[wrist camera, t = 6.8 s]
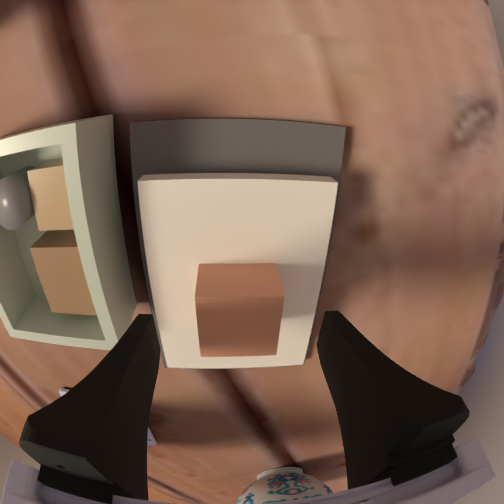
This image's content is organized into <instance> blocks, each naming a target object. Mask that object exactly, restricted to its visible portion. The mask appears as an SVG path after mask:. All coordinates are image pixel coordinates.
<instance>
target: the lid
mask: <svg viewBox="0 0 504 504" xmlns="http://www.w3.org/2000/svg"><path fill="white" fill-rule="evenodd" d="M137 182H138V194H139V204H140V214H141V223H142V231H143V239H144V247H145V254H146V260H147V267H148V273H149V279H150V285H151V291H152V297H153V302H154V307H155V313H156V318H157V323H158V327H159V332H160V337H161V341H162V346H163V350H164V355H165V359H166V363H167V367H168V368H255V367H275V366H290V365H302V364H303V363H304V359H305V355H306V351H307V346H308V342H309V338H310V334H311V329H312V325H313V320H314V316H315V311H316V307H317V302H318V297H319V292H320V287H321V282H322V277H323V272H324V267H325V261H326V256H327V250H328V244H329V239H330V233H331V227H332V220H333V214H334V207H335V201H336V194H337V186H338V182H336V181H335V180H334V179H333V178H331V177H327V176H311V175H292V174H264V173H180V174H152V175H143V176H142V177H141V178H140V179H139V180H138V181H137Z"/></svg>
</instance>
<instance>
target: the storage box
mask: <svg viewBox="0 0 504 504" xmlns="http://www.w3.org/2000/svg"><path fill="white" fill-rule="evenodd" d="M136 305H137V301H136V297H135V292H134V287H133V283H132V278H131V272H130V267H129V262H128V256H127V250H126V244H125V238H124V232H123V225H122V218H121V210H120V202H119V194H118V185H117V174H116V162H115V149H114V130H113V114H112V115H105V116H98V117H91V118H85V119H79V120H74V121H68V122H63V123H58V124H53V125H49V126H44V127H40V128H35V129H31V130H27V131H23V132H20V133H16V134H12V135H9V136H5V137H2V138H0V317H1V319H2V321H3V323H4V325H5V327H6V329H7V331H8V333H9V335H10V336H11V337H16V338H21V339H27V340H33V341H39V342H45V343H52V344H59V345H67V346H75V347H83V348H93V349H103V350H111V349H112V348H113V347H114V346H115V344H116V343H117V342H118V341H119V339H120V338H121V337H122V336H123V334H124V333H125V332H126V330H127V329H128V328H129V326H130V323H131V320H132V317H133V314H134V311H135V308H136Z"/></svg>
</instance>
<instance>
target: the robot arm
mask: <svg viewBox="0 0 504 504" xmlns="http://www.w3.org/2000/svg"><path fill="white" fill-rule="evenodd" d="M317 349H318V354H319V359H320V363H321V367H322V370H323V373H324V376H325V378H326V381H327V384H328V387H329V390H330V393H331V395H332V398H333V401H334V404H335V407H336V411H337V415H338V419H339V424H340V429H341V434H342V440H343V446H344V453H345V460H346V469H347V481H348V490H345V491H341V492H336V493H332V494H327V495H322V496H316V497H311V498H305V499H298V500H291V501H283V502H274V503H263V504H455V503H457V502H458V501H460V500H462V499H463V498H465V497H467V496H468V495H470V494H472V493H473V492H475V491H476V490H478V489H479V488H481V487H482V486H484V485H485V484H487V483H488V482H490V481H491V480H493V479H494V478H495V477H496V475H495V472H494V470H493V468H492V466H491V464H490V461H489V459H488V457H487V455H486V453H485V451H484V449H483V447H482V445H481V443H480V440H479V438H478V437H477V436H476V437H473V438H472V439H470V440H468V441H466V442H464V443H462V444H460V445H458V446H457V447H455V448H453V445H452V443H453V442H454V441H455V439H454V437H453V435H452V434H453V433H454V432H455V431H456V430H457V429H458V428H459V427H460V426H461V425H462V424H463V423H464V422H465V421H466V420H467V418H468V417H469V410H468V408H467V406H466V405H465V403H464V401H463V399H462V398H461V397H460V396H458V395H455V394H453V393H450V392H447V391H444V390H442V389H440V388H438V387H435V386H433V385H431V384H429V383H427V382H425V381H423V380H421V379H420V378H418V377H416V376H415V375H413V374H411V373H410V372H408V371H406V370H405V369H403V368H402V367H401V366H399V365H398V364H396V363H395V362H394V361H392V360H391V359H390V358H388V357H387V356H386V355H385V354H383V353H382V352H381V351H380V350H379V349H377V348H376V347H375V346H374V345H373V344H372V343H371V342H370V341H369V340H367V339H366V338H365V337H364V336H363V335H362V334H361V333H360V332H359V331H358V330H357V329H356V328H355V327H354V326H353V325H352V324H351V323H350V322H349V321H348V320H347V319H346V318H345V317H344V316H343V315H342V314H341V313H340V312H339V311H325V313H324V318H323V322H322V326H321V330H320V334H319V338H318V341H317ZM159 359H160V344H159V340H158V335H157V331H156V326H155V322H154V317H153V314H139V315H138V316H137V317H136V318H135V320H134V321H133V322H132V324H131V325H130V326H129V328H128V329H127V330H126V332H125V333H124V334H123V336H122V337H121V338H120V339H119V341H118V342H117V343H116V344H115V346H114V347H113V348H112V349H111V351H110V352H109V353H108V354H107V355H106V356H105V357H104V359H103V360H102V361H101V362H100V363H99V364H98V365H97V366H96V367H95V368H94V369H93V370H92V371H91V372H90V373H89V374H88V375H87V376H86V377H85V378H84V379H83V380H82V381H80V382H79V383H78V384H77V385H76V386H74V387H73V388H72V389H71V390H69V389H64V388H61V389H60V391H59V393H60V395H61V397H60V398H58V399H57V400H55V401H54V402H52V403H51V404H49V405H47V406H46V407H44V408H42V409H40V410H38V411H37V412H35V413H33V414H31V415H29V416H28V418H27V420H26V423H25V425H24V428H23V431H22V434H21V437H20V441H19V444H20V446H21V448H22V449H23V450H24V451H25V452H26V453H27V454H28V455H30V456H31V457H32V458H33V459H34V460H36V461H37V462H38V463H39V464H40V465H41V467H40V471H39V470H37V469H35V468H33V467H31V466H28V465H26V464H24V463H21V462H19V461H16V460H14V459H12V460H11V463H10V467H9V470H8V474H7V478H6V482H5V486H4V491H3V495H2V500H1V504H174V503H163V502H154V501H147V500H148V485H147V445H156V440H155V438H154V436H153V434H152V432H151V430H150V428H149V427H148V421H149V413H150V408H151V403H152V398H153V393H154V388H155V384H156V379H157V374H158V369H159Z"/></svg>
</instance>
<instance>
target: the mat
mask: <svg viewBox="0 0 504 504" xmlns="http://www.w3.org/2000/svg"><path fill="white" fill-rule="evenodd" d="M129 129H130V151H131V167H132V180H133V191H134V201H135V211H136V219H137V227H138V235H139V242H140V249H141V256H142V262H143V268H144V274H145V280H146V286H147V291H148V297H149V302H150V307H151V312H152V314H153V317H154V322H155V326H156V331H157V335H158V340H159V344H160V352H161V356H162V360H163V364H164V368H168V367H167V363H166V359H165V355H164V350H163V346H162V341H161V337H160V332H159V327H158V323H157V318H156V313H155V307H154V302H153V297H152V291H151V285H150V279H149V273H148V267H147V260H146V254H145V247H144V239H143V231H142V223H141V214H140V204H139V194H138V182H137V181H138V180H139V179H140V178H141V177H142V176H143V175H152V174H180V173H264V174H292V175H311V176H327V177H331V178H333V179H334V180H335V181H336V182H338V186H337V194H336V201H335V207H334V214H333V220H332V227H331V233H330V239H329V244H328V250H327V256H326V261H325V267H324V272H323V277H322V282H321V287H320V292H319V297H318V302H317V307H318V303H319V298H320V293H321V288H322V283H323V278H324V273H325V268H326V263H327V257H328V252H329V246H330V240H331V234H332V228H333V222H334V216H335V209H336V203H337V196H338V189H339V182H340V174H341V166H342V158H343V149H344V140H345V131H346V127H343V126H337V125H329V124H320V123H310V122H299V121H286V120H269V119H244V118H196V119H171V120H155V121H142V122H132V123H129ZM317 307H316V311H315V316H316V312H317ZM315 316H314V320H313V325H314V321H315ZM313 325H312V329H311V334H312V330H313ZM311 334H310V338H311ZM310 338H309V342H310ZM309 342H308V346H307V351H308V347H309ZM307 351H306V355H307ZM306 355H305V359H306ZM305 359H304V363H305ZM304 363H303V364H302V365H304ZM290 366H294V365H290ZM275 367H281V366H275ZM255 368H263V367H255ZM186 369H235V368H186Z"/></svg>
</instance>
